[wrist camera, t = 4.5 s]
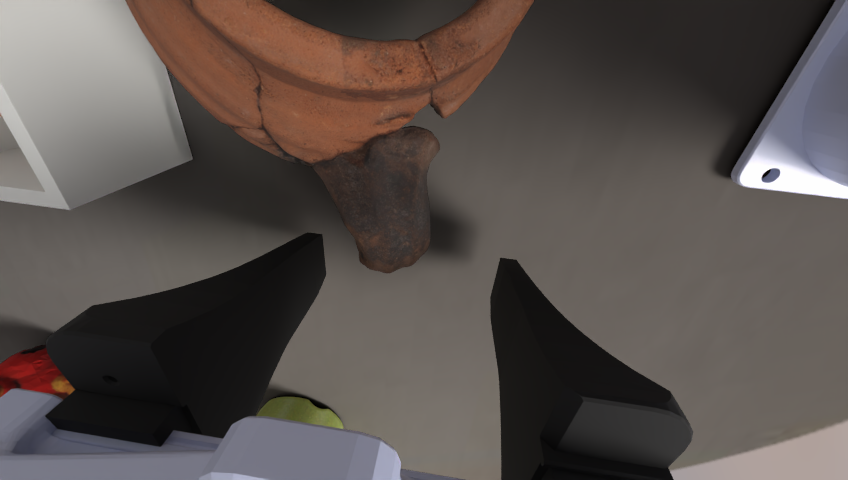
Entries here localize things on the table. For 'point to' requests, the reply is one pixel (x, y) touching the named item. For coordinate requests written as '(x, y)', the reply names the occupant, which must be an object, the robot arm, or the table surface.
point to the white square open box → (81, 103)
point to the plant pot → (299, 412)
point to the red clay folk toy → (33, 373)
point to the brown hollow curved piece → (335, 100)
